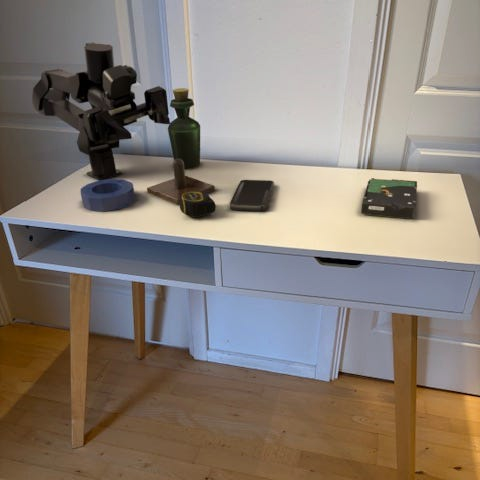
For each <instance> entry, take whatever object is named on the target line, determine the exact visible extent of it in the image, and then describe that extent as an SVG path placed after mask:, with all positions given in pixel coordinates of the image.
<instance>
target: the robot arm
mask: <svg viewBox="0 0 480 480" xmlns="http://www.w3.org/2000/svg"><path fill="white" fill-rule="evenodd" d="M83 49H84V58H85V67H86V71H79V72H76V73H75V72H74V73H73V72H70V71H65V70H64V69H60V68H55V69H48V70H44V71H42V72H41V74H40V79H39V81H38V82H37V83H36V84H35V85H34V87H33V88H32V96H31V101H32V105H33V108H34V109H35V111H37V113H38V114H40V115H41V116H44V117H57V118H58V119H59V120H61V121H62V122H64V123H66V124H67V125H69V126H70V127H72V128H73V129H75V130H76V131H78V132H79V133H78V136H77V140H76V144H77V148H78V150H79V151H78V152H80V153H83V154H85V155H87V156H88V159H89V165H90V170H89V171H87V172H86V175H87V176H89V177H91V178H94V179H96V180H98V181H99V180H107V179H110V178H111V177H115V176H118V175H122V174H123V172H122V170H119V169H117V168H116V161H115V157H114V152H113V149H118V148H120V141H121V140H122V141H123V140H131V139H132V133H131V132H130V131H129V130H128V129H127V128H126V127H127V126H129V125H132V124H134V123H137V122H138V119H141V118H144V117H146V116H148V119H149V120H151V121H153V122H154V123H155V124H161V125H169V124H170V123H171V120H170V117H169V114H170V111H169V103H168V102H169V101H168V95H167V89H165V88H163V87H161V86H160V85H157V86H156V87H151V88H149V89H146V90H145V91H144V92H143V96H144V102H143V103H140V104H138V105H137V104H136V102H135V101H134V100H136V95H135V92H133V91H132V87H133V85H136V84H137V81H138V80H137V79H138V74H137V71H136V70H135V69H134V68H133V67H132V66H129V65H127V64H126V65H122V64H119V65H115V60H114V47H113V45H111V44H104V43H95V42H87V43H85V45H84V47H83ZM70 97H71V99H72V100H73V101H75V102H76V103H78V104H84V103H89V105H90V106H91V108H89V109H86V110H85V109H83V108H81V107H80V106H78V105H76V104H75V103H73V102H71V101H70Z"/></svg>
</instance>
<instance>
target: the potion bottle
mask: <svg viewBox="0 0 480 480" xmlns="http://www.w3.org/2000/svg"><path fill="white" fill-rule="evenodd" d="M189 90H190V89H189V88H185V87H179V88H174V89H172V93H173V97H174V98H173V99H171V100H170V104H169V107H170V108H173V109H174V111H175V114H176V118H175V119H173V120H172V121H170V124H168V126H167V133H168V137H169V142H170V148H171V152H172V158H173V161H174V160H175V159H181V160H182V161H183V162H184V170H192V169H196V168H198V167H199V166H200V165H201V124H200V123H199V121H197V120H196V119H194V118H192V117H191V116H190V111H191V108H192V107H194V106H195V102H194V100H193V99H192V98H190V97H189Z"/></svg>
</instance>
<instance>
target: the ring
mask: <svg viewBox="0 0 480 480" xmlns="http://www.w3.org/2000/svg"><path fill="white" fill-rule="evenodd" d="M80 198H81V201H82V205H83V208H86V209H87V210H89V211H94V212H112V211H117V210H121V209H124V208H127V207H129V206H131V205H133V203H135V201H136V194H135V187H134V184H133V182H132V181H129V180H127V179H123V178H106V179H103V180H99V179H98V180H96V181H92V182H90V183H87V184H85V185H84V186H82V187H81V188H80Z"/></svg>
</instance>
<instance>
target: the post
mask: <svg viewBox="0 0 480 480" xmlns="http://www.w3.org/2000/svg"><path fill="white" fill-rule="evenodd" d="M172 168H173V177H174V178H171V179H168V180H165V181H163V182H160V183H156V184H154V185H151V186H147V187H146V192H147V194H150V195H152V196H155V197H157V198H159V199H162V200H165V201H167V202H170V203H173V204H175V205H177V206H179V200H180V197H181V196H182V195H183V194H185V193H188V192H200V191H206V192H207V194H210V193H213V192H215V191H216V185H214V184H211V183H209V182H205V181H202V180H199V179H197V178H195V177H191V176H187V175H186V171H185V170H186V169H184V162H183V161H182V160H181V159H175V160H174V159H173V162H172Z"/></svg>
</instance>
